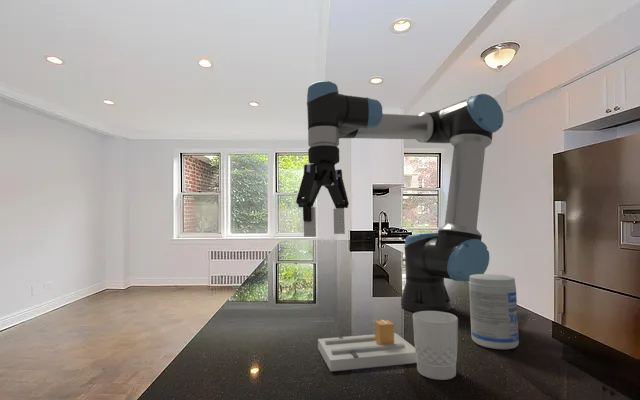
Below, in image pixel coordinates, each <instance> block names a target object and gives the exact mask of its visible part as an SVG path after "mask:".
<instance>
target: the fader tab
mask: <svg viewBox="0 0 640 400" xmlns="http://www.w3.org/2000/svg"><path fill="white" fill-rule="evenodd" d="M394 326H395V323H393V322H391V321H390V320H388V319H380V320H374V334H375V341H377V342H378V343H379V344H380V345H387V344H394V333H395V331H394V330H395V329H394V328H395V327H394Z"/></svg>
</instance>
